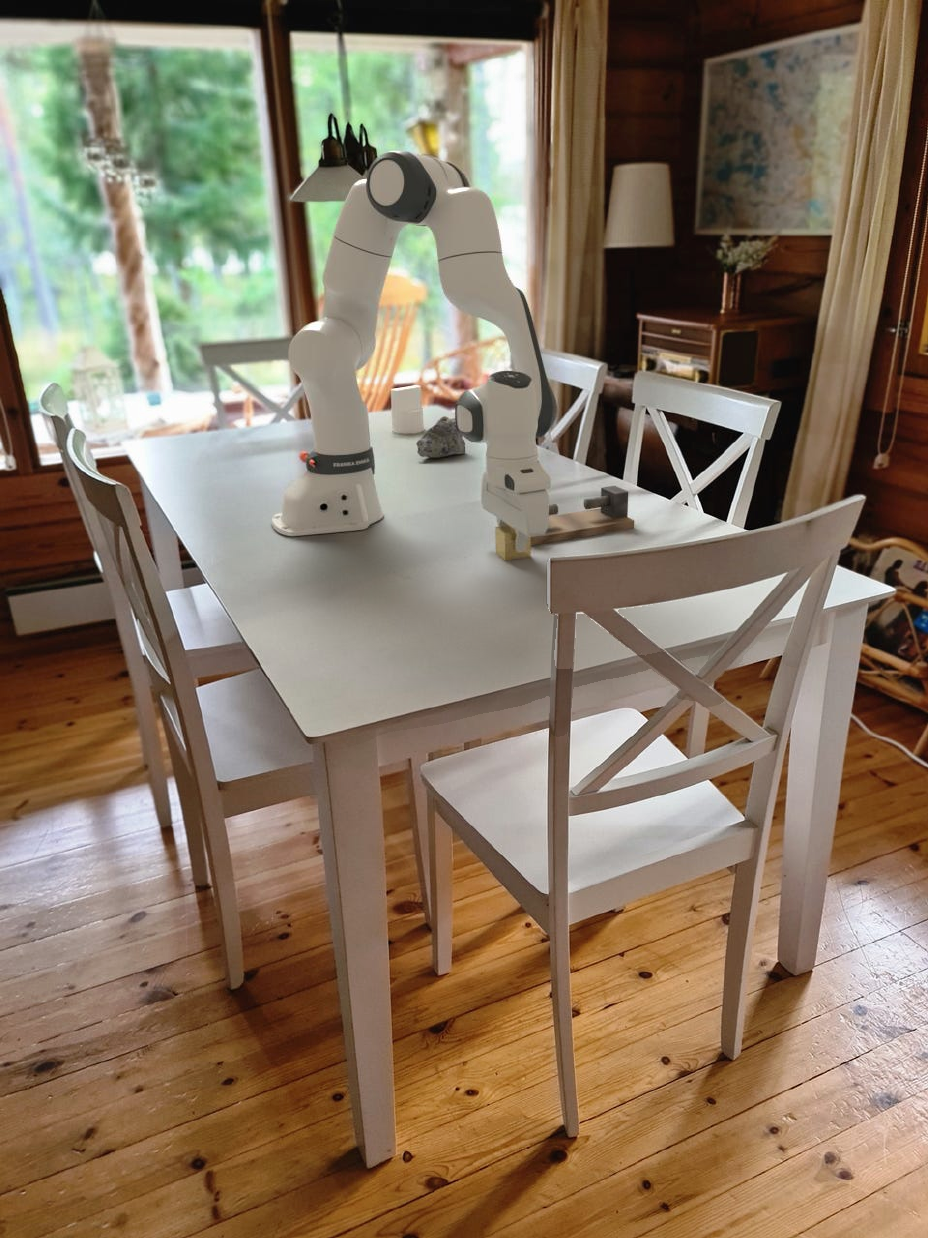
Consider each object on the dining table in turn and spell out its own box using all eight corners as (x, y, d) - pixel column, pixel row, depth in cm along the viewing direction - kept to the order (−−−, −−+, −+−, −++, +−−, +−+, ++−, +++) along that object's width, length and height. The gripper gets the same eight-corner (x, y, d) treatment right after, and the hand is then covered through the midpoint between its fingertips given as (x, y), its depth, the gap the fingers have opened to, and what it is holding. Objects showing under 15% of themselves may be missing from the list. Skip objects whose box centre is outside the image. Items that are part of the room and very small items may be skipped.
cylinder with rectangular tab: (411, 425, 271) (409, 383, 266) (430, 430, 264) (428, 387, 259) (386, 430, 266) (383, 388, 261) (404, 435, 259) (402, 391, 254)
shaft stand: (530, 545, 169) (530, 511, 166) (507, 530, 178) (507, 497, 175) (634, 527, 176) (635, 494, 174) (607, 514, 185) (608, 482, 182)
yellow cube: (505, 560, 162) (504, 533, 160) (495, 553, 166) (495, 527, 164) (530, 556, 164) (530, 529, 162) (520, 549, 167) (520, 523, 165)
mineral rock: (418, 462, 230) (415, 422, 225) (413, 453, 239) (411, 414, 235) (469, 459, 231) (468, 419, 227) (463, 449, 241) (461, 410, 237)
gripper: (471, 459, 166) (473, 532, 172) (521, 486, 149) (521, 566, 154) (503, 455, 168) (504, 527, 174) (555, 480, 151) (555, 560, 157)
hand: (513, 546), depth 164 cm, fingers closed on yellow cube, 4 cm apart
